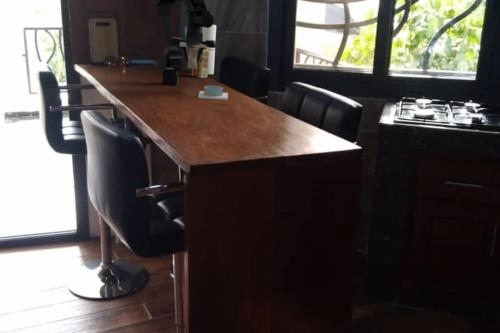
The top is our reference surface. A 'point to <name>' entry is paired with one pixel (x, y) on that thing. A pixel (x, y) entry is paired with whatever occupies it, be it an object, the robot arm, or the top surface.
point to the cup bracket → (213, 93)
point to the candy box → (201, 63)
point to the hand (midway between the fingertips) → (192, 63)
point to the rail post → (192, 58)
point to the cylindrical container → (210, 35)
